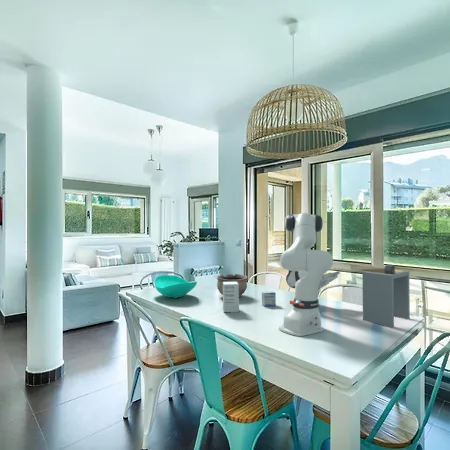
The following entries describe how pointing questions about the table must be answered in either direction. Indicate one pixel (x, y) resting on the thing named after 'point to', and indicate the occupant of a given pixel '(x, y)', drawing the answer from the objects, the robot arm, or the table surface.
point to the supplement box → (230, 297)
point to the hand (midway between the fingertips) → (334, 273)
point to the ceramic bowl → (231, 278)
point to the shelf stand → (385, 297)
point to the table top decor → (173, 285)
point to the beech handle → (374, 268)
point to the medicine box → (268, 299)
